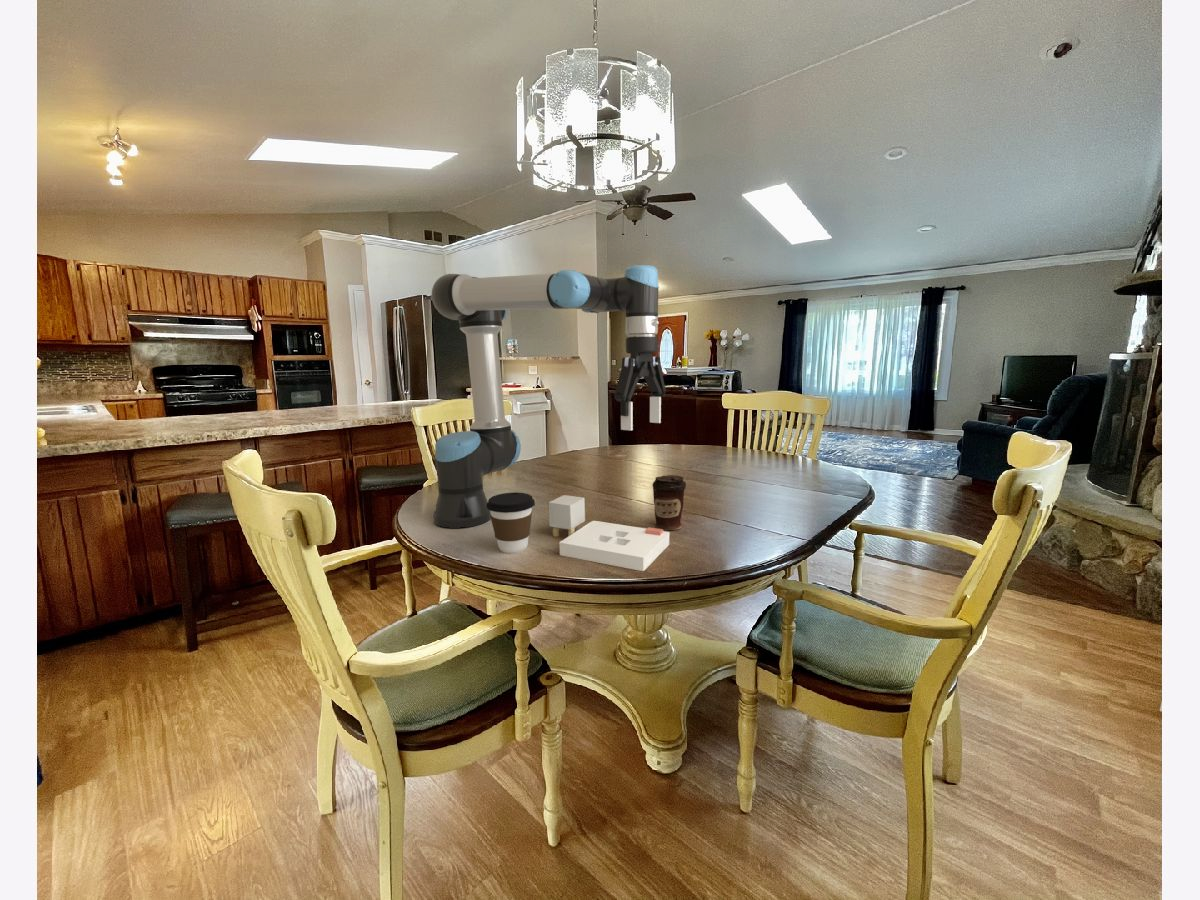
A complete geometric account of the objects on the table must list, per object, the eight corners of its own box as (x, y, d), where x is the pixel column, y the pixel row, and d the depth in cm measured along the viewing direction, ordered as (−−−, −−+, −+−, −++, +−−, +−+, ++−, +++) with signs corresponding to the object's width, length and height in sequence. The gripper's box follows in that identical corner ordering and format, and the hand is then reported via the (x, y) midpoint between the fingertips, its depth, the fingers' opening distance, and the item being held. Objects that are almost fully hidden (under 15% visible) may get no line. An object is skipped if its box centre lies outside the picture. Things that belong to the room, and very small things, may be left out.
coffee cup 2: (684, 534, 122) (685, 482, 120) (650, 532, 124) (650, 481, 121) (685, 522, 131) (686, 474, 128) (654, 520, 132) (654, 473, 130)
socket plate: (643, 571, 102) (643, 553, 101) (559, 555, 111) (559, 538, 110) (669, 544, 116) (669, 528, 115) (593, 531, 125) (593, 517, 124)
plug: (571, 540, 119) (570, 505, 118) (550, 537, 122) (548, 502, 120) (585, 531, 125) (584, 497, 124) (564, 528, 128) (563, 495, 126)
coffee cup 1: (495, 539, 121) (492, 491, 119) (540, 539, 121) (538, 491, 118) (483, 557, 110) (480, 505, 108) (532, 557, 110) (530, 505, 108)
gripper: (627, 334, 104) (627, 434, 108) (680, 336, 124) (678, 420, 129) (597, 335, 109) (599, 431, 113) (653, 337, 129) (653, 418, 133)
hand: (641, 426), depth 121 cm, fingers open, 13 cm apart
